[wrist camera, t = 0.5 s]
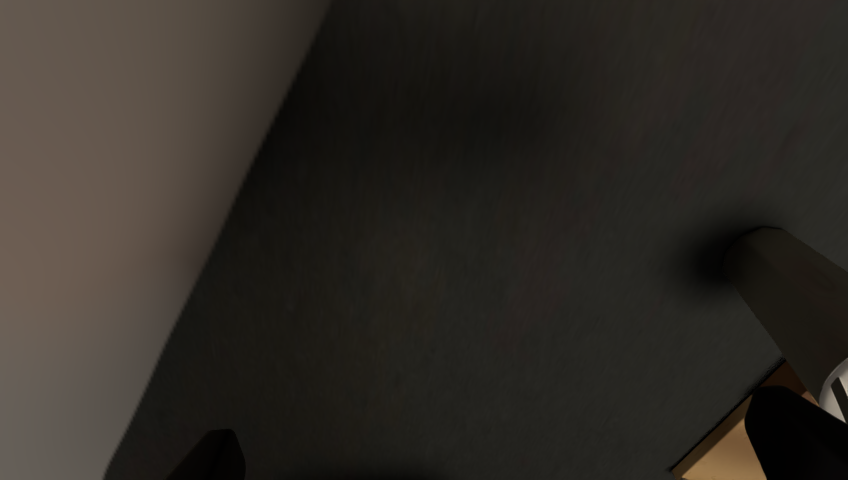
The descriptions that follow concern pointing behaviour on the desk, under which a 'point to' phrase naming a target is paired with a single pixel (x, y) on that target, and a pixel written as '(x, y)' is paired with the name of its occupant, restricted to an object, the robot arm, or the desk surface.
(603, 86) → the desk surface
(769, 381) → the rack
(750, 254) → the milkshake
